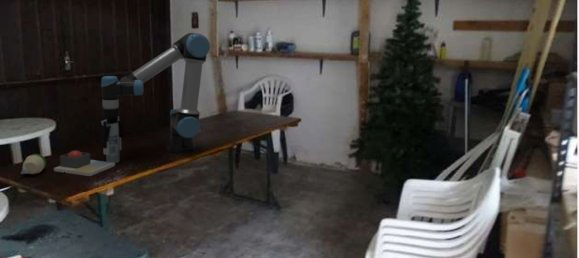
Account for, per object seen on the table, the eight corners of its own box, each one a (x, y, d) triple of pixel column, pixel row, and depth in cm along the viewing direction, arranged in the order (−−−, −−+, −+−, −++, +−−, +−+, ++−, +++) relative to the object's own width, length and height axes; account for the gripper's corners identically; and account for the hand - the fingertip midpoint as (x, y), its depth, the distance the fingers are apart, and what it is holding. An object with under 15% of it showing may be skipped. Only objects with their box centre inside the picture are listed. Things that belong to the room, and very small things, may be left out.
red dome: (86, 163, 237) (86, 149, 235) (76, 167, 230) (75, 153, 229) (74, 162, 239) (73, 148, 237) (64, 166, 232) (63, 151, 231)
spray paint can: (105, 163, 243) (103, 124, 239) (106, 160, 250) (104, 121, 245) (119, 163, 245) (117, 123, 241) (120, 159, 251) (118, 121, 247)
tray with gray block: (114, 165, 240) (114, 153, 239) (90, 176, 223) (89, 162, 222) (80, 161, 246) (80, 148, 244) (54, 171, 229) (53, 157, 228)
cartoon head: (21, 185, 217) (39, 170, 236) (39, 174, 217) (55, 160, 236) (9, 168, 215) (27, 155, 234) (27, 158, 214) (44, 145, 234)
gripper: (117, 104, 253) (119, 146, 258) (89, 110, 232) (91, 156, 237) (130, 105, 251) (132, 147, 255) (102, 111, 230) (104, 158, 235)
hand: (112, 151), depth 246 cm, fingers open, 9 cm apart
